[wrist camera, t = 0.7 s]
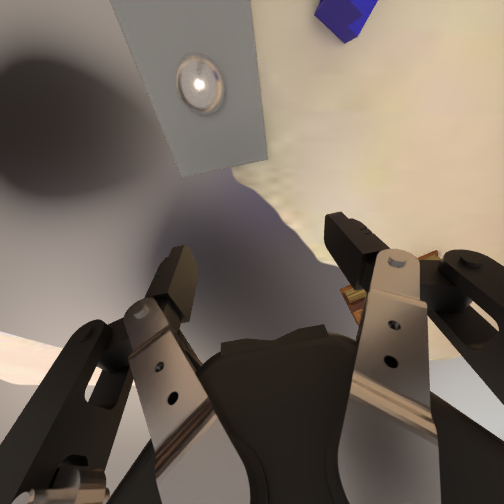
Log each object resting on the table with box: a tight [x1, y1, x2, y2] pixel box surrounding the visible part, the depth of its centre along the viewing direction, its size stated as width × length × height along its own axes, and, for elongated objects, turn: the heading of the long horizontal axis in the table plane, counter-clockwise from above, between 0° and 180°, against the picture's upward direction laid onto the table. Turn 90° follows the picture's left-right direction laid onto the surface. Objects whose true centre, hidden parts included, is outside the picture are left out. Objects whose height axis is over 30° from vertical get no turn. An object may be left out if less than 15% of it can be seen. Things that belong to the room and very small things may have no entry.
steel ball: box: [175, 52, 225, 116], centre depth 20 cm, size 5×5×5 cm
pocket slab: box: [110, 0, 268, 178], centre depth 19 cm, size 28×13×2 cm, turn 10°
